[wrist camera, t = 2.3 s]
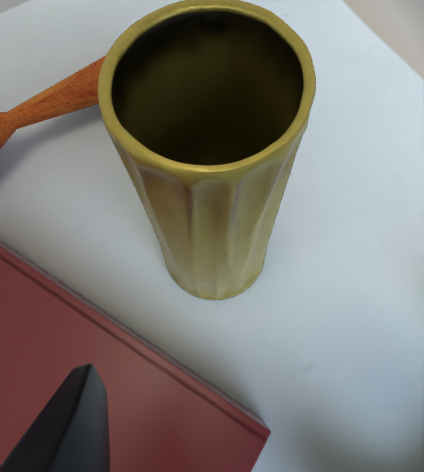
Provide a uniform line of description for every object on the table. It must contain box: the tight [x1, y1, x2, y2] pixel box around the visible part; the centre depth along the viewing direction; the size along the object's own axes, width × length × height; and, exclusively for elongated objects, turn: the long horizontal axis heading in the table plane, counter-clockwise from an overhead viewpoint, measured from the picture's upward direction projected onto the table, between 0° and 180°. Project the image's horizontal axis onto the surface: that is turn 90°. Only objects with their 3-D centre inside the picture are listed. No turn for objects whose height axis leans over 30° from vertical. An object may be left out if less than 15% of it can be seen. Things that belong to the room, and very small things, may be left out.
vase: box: [98, 0, 316, 300], centre depth 15 cm, size 6×6×14 cm
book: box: [0, 241, 271, 472], centre depth 17 cm, size 20×13×3 cm, turn 58°
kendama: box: [0, 56, 106, 149], centre depth 22 cm, size 6×6×20 cm
